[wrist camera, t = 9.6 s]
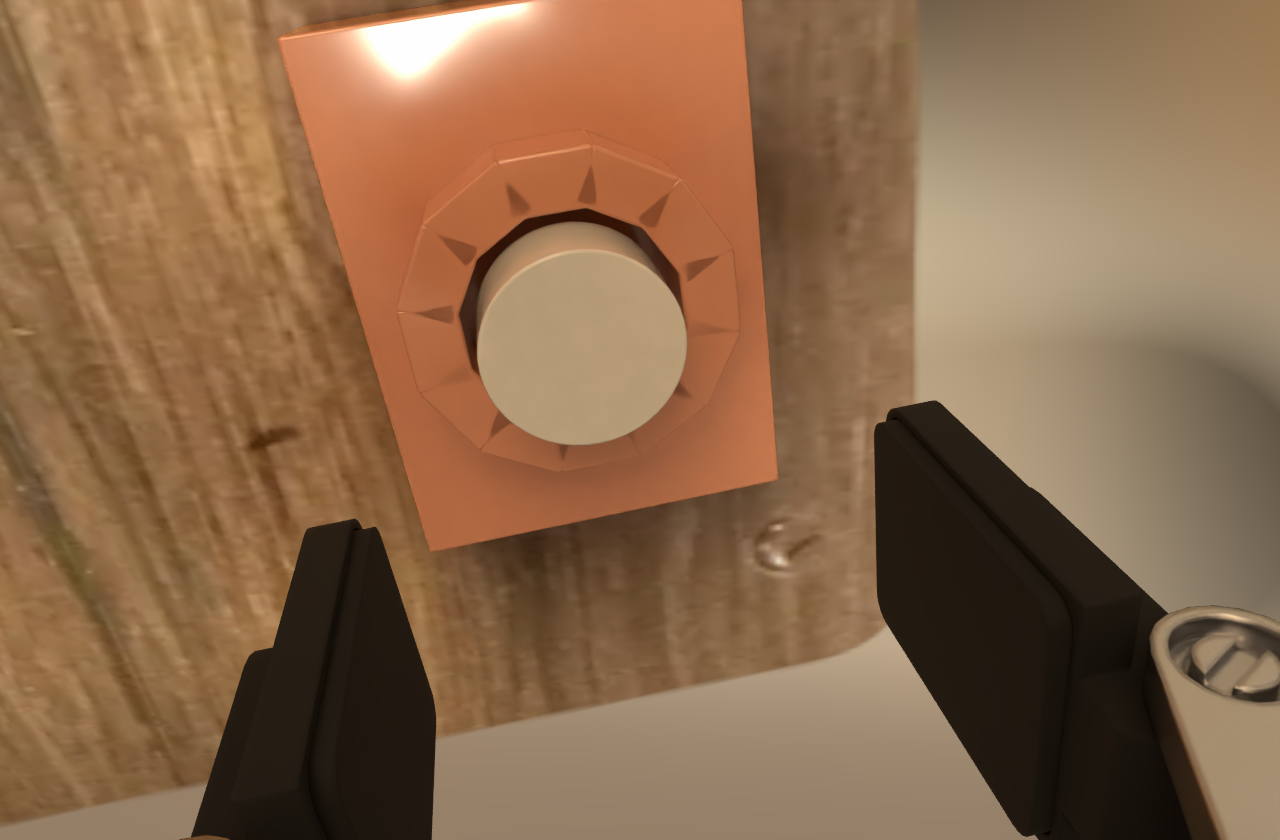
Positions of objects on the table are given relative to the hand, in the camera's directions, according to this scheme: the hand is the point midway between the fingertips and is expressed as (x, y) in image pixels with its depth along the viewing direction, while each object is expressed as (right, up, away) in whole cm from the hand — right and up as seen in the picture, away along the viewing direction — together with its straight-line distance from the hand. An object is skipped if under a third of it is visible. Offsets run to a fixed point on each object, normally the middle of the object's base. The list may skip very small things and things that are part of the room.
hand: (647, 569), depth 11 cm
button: (-1, +4, +8) cm, 9 cm away
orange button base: (-2, +6, +12) cm, 14 cm away
